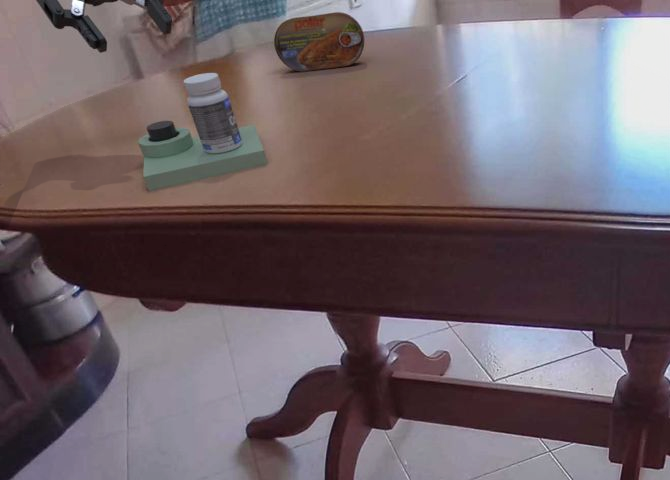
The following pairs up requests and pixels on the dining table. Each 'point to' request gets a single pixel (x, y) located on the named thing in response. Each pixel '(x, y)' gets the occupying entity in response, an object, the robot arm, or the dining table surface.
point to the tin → (319, 41)
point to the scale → (196, 158)
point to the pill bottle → (212, 113)
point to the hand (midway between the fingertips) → (137, 38)
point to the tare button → (161, 131)
